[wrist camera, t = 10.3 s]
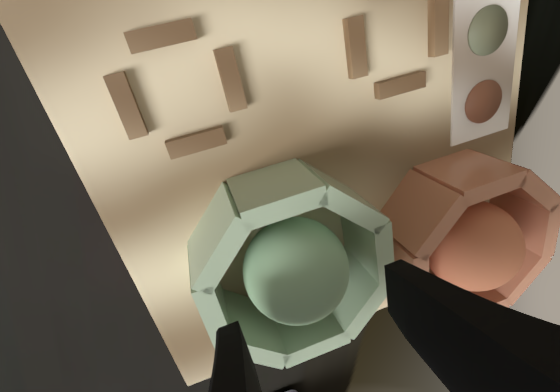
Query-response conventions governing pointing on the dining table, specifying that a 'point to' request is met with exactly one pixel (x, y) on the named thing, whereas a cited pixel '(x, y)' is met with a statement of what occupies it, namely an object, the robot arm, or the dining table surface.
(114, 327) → the dining table surface
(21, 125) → the dining table surface
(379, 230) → the green octagonal ring
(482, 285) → the terracotta ball
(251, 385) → the robot arm
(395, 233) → the terracotta tube
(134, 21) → the board
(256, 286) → the sage ball
